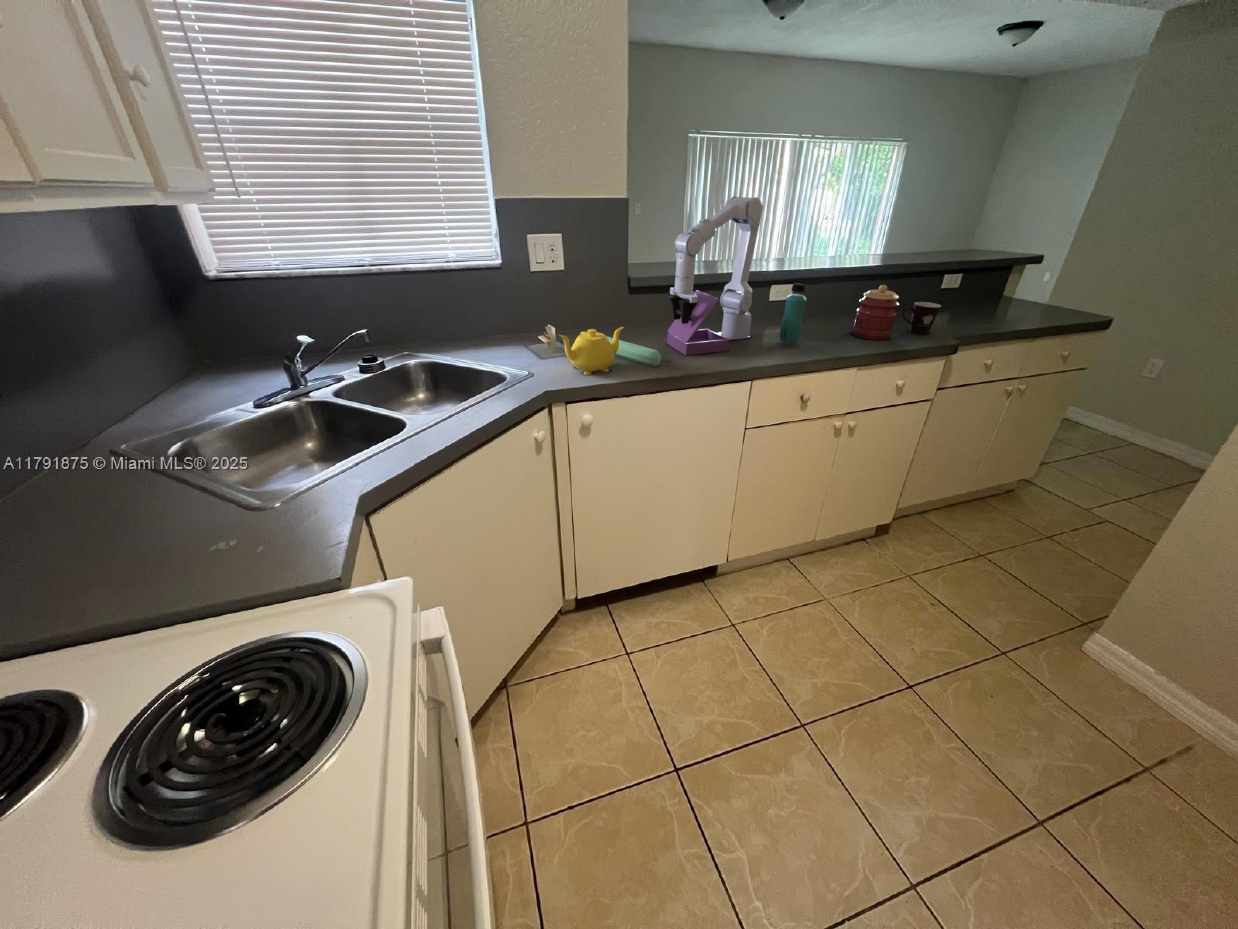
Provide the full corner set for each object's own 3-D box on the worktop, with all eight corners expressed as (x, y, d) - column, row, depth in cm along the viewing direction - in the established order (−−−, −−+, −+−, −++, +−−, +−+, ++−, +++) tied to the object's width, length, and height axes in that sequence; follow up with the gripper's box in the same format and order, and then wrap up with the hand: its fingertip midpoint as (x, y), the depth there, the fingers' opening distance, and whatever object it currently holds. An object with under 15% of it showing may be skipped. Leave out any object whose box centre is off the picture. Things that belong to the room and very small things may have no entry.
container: (662, 345, 143) (599, 328, 156) (651, 357, 140) (588, 339, 154) (665, 361, 147) (603, 343, 161) (654, 373, 145) (592, 354, 158)
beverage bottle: (800, 345, 167) (813, 283, 156) (792, 349, 162) (804, 286, 152) (783, 341, 170) (794, 281, 160) (774, 344, 166) (785, 283, 156)
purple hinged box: (697, 290, 160) (687, 282, 158) (719, 299, 150) (709, 290, 147) (668, 331, 164) (658, 324, 161) (687, 343, 153) (677, 335, 150)
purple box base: (706, 339, 171) (707, 328, 169) (727, 350, 160) (729, 339, 158) (666, 343, 166) (667, 332, 164) (685, 355, 155) (686, 343, 153)
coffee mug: (932, 330, 185) (941, 303, 179) (931, 336, 178) (940, 308, 173) (898, 326, 190) (906, 299, 185) (896, 331, 184) (904, 304, 178)
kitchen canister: (896, 336, 177) (912, 286, 168) (876, 342, 170) (891, 290, 161) (864, 328, 186) (877, 280, 177) (843, 333, 180) (856, 283, 171)
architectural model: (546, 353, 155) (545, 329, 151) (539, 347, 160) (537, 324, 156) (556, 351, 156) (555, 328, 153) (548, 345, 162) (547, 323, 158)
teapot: (610, 356, 153) (610, 319, 147) (632, 370, 142) (634, 331, 136) (550, 364, 145) (548, 326, 140) (569, 381, 134) (567, 340, 128)
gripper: (662, 273, 154) (660, 316, 161) (684, 281, 142) (680, 327, 149) (682, 272, 156) (678, 315, 163) (705, 280, 144) (700, 326, 151)
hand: (680, 321), depth 156 cm, fingers closed on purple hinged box, 5 cm apart
